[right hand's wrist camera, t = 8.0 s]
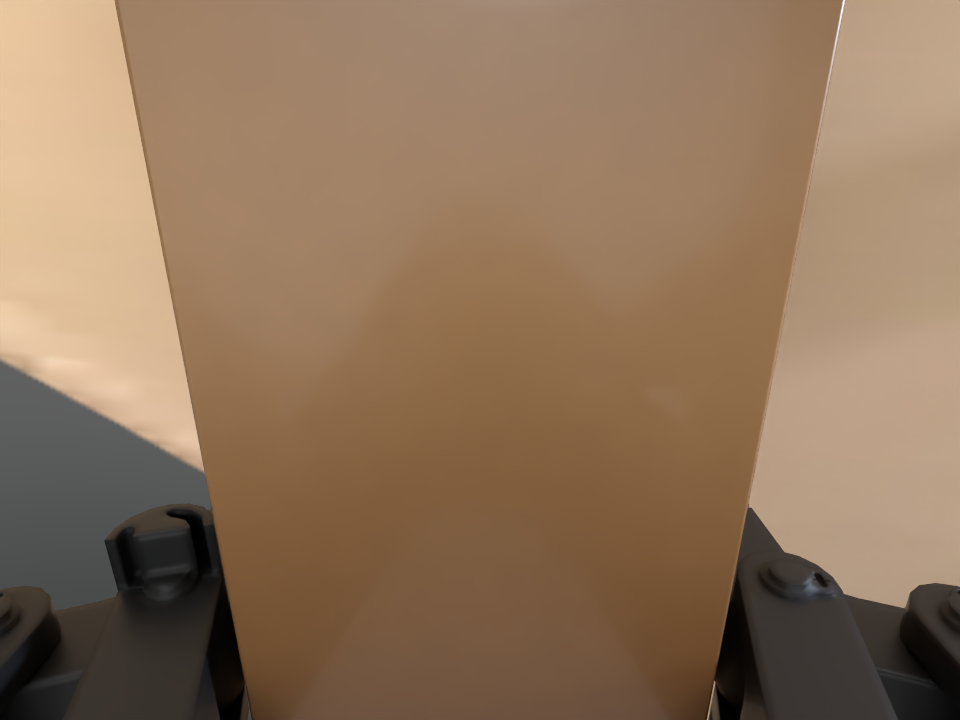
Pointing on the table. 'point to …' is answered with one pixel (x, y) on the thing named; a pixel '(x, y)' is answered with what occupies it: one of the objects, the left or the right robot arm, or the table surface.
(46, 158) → the table surface
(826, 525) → the table surface
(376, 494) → the wooden box
